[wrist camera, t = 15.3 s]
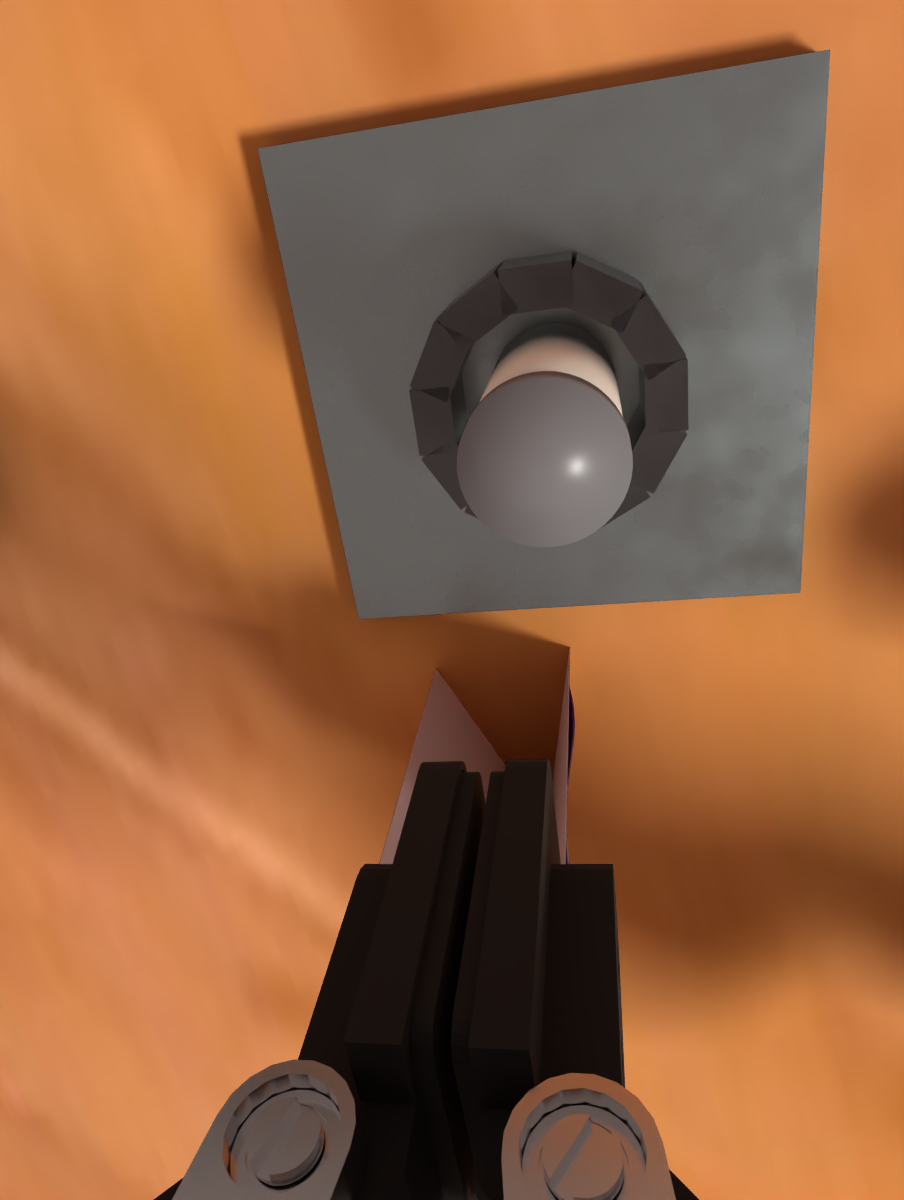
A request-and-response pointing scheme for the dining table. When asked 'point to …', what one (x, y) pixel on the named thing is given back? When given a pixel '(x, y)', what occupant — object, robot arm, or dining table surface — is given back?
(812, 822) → the dining table surface
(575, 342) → the round-ended cylinder
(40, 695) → the dining table surface
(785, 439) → the square plate with ring
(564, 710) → the greeting card
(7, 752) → the dining table surface
